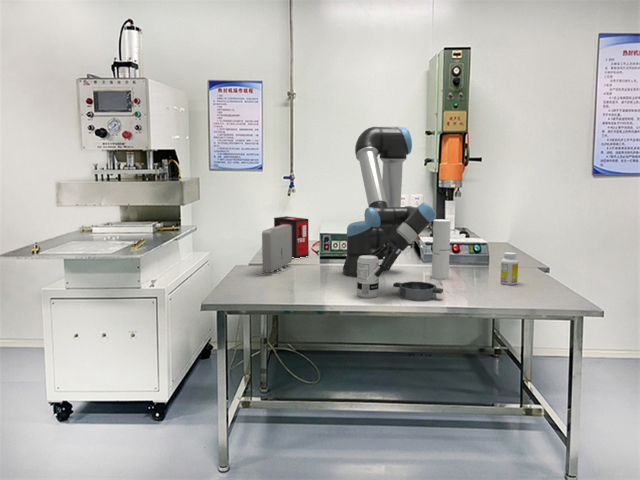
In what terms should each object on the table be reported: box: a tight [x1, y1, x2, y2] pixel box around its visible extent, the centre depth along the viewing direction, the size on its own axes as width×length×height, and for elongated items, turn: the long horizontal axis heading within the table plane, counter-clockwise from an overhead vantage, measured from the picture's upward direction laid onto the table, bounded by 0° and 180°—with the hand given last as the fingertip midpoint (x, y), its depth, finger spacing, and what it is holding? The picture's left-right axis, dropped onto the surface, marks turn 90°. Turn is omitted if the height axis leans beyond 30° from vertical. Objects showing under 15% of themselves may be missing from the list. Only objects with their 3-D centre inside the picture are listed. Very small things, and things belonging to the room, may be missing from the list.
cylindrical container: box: [431, 218, 452, 280], centre depth 239 cm, size 7×7×25 cm
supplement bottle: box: [500, 251, 519, 286], centre depth 228 cm, size 7×7×13 cm
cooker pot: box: [393, 281, 444, 302], centre depth 209 cm, size 19×14×4 cm
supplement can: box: [356, 255, 380, 299], centre depth 209 cm, size 8×8×15 cm
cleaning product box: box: [273, 215, 310, 259], centre depth 289 cm, size 16×9×20 cm, turn 46°
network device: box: [261, 224, 293, 275], centre depth 253 cm, size 26×9×20 cm, turn 161°
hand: (363, 278), depth 208 cm, fingers open, 13 cm apart
